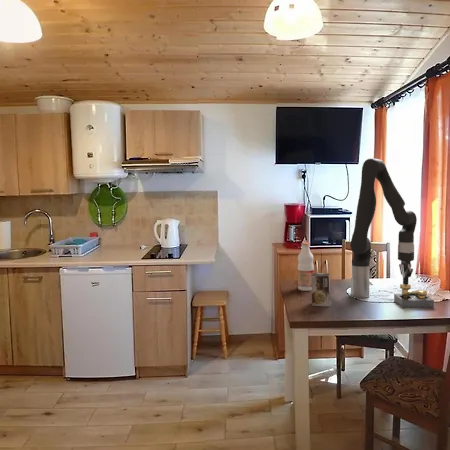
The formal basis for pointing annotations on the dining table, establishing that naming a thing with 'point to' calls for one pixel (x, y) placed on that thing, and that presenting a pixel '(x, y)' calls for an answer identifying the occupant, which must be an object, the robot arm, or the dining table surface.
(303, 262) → the fruit juice
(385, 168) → the robot arm
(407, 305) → the level base plate
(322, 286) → the coffee box
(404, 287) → the brass knob
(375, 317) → the dining table surface
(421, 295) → the brass knob
